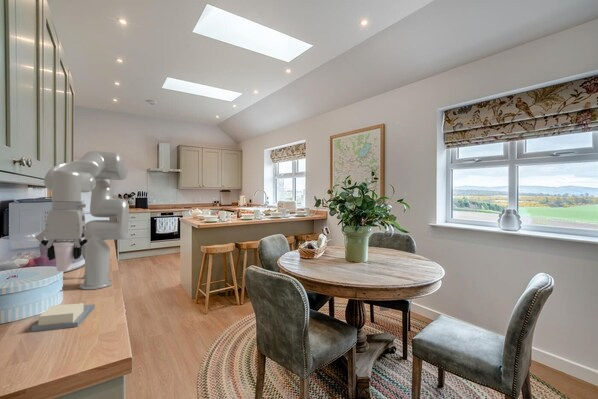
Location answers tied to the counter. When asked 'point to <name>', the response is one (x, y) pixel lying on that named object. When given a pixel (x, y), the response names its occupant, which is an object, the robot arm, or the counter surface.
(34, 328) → the base board
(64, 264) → the smoothie
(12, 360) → the counter surface
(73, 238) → the robot arm
